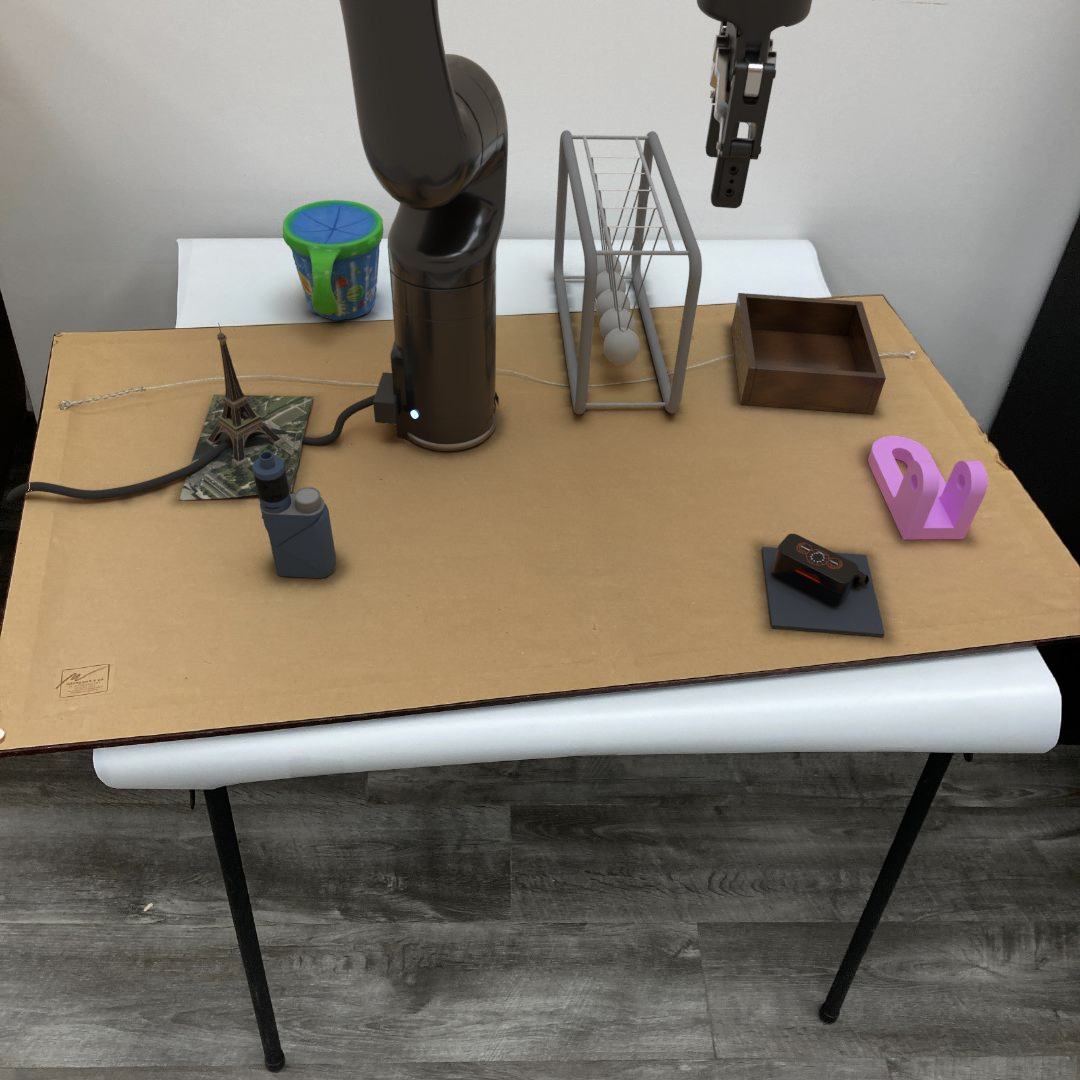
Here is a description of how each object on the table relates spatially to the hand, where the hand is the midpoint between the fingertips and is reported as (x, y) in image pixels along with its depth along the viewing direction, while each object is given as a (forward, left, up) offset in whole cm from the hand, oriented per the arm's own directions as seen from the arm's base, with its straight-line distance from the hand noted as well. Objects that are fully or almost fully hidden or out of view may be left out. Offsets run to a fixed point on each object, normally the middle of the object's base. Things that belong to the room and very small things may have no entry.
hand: (721, 179), depth 73 cm
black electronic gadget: (+12, -15, -28) cm, 34 cm away
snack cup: (-37, +24, -28) cm, 52 cm away
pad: (+12, -15, -28) cm, 34 cm away
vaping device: (-31, -17, -28) cm, 45 cm away
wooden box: (+14, +18, -28) cm, 36 cm away
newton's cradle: (-6, +21, -28) cm, 36 cm away
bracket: (+22, -1, -28) cm, 36 cm away
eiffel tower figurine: (-40, -2, -28) cm, 49 cm away
